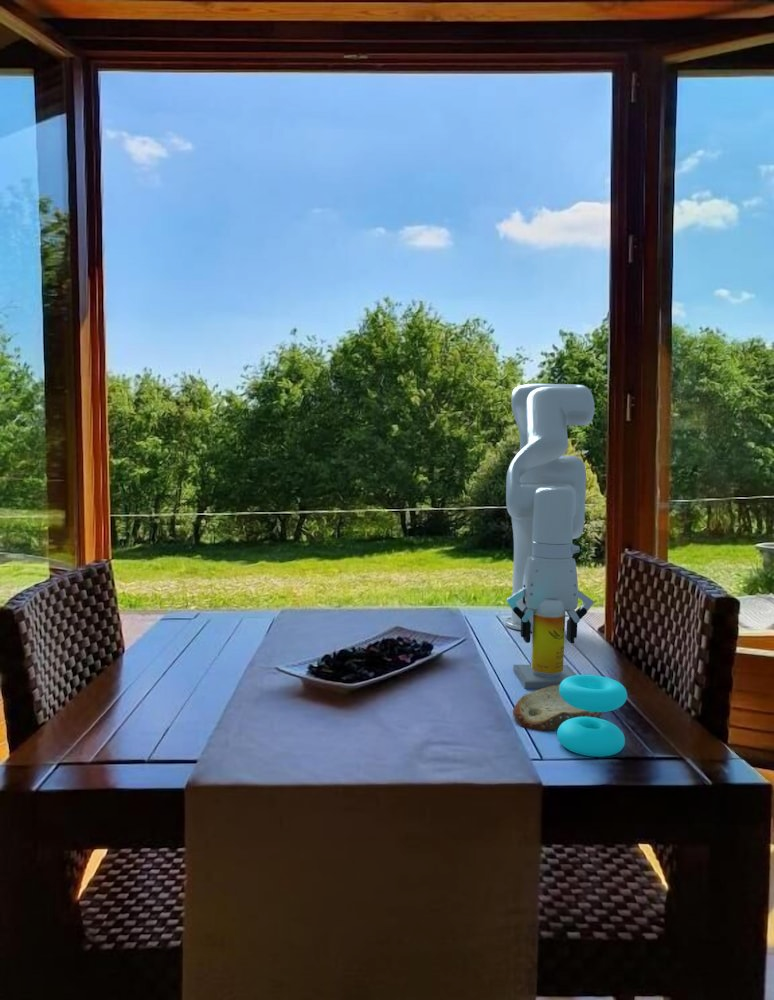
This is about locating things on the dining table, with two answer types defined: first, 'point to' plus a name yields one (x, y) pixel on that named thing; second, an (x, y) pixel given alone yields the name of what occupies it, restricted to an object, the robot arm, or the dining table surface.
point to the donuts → (590, 731)
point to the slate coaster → (539, 677)
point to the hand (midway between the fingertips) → (548, 640)
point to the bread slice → (546, 710)
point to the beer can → (548, 638)
